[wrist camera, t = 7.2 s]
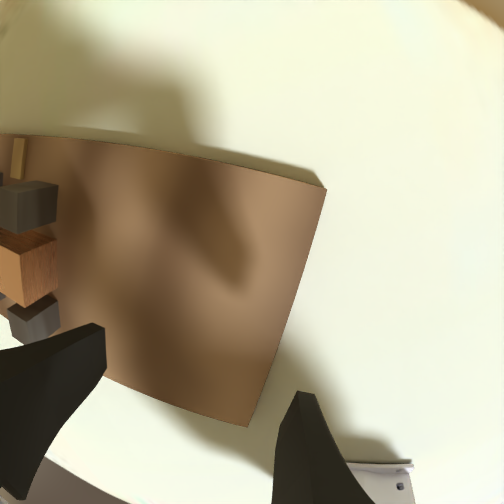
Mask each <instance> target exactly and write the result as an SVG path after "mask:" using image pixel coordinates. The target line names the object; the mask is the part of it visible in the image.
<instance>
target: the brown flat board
mask: <svg viewBox="0 0 504 504" xmlns="http://www.w3.org/2000/svg"><path fill="white" fill-rule="evenodd" d="M326 192H327V189H325V188H322V187H319V186H315V185H312V184H308V183H305V182H301V181H297V180H294V179H290V178H286V177H282V176H278V175H275V174H271V173H267V172H263V171H258V170H254V169H250V168H246V167H241V166H237V165H233V164H228V163H223V162H219V161H214V160H209V159H204V158H199V157H194V156H189V155H184V154H178V153H173V152H167V151H162V150H156V149H150V148H143V147H137V146H130V145H123V144H116V143H108V142H100V141H92V140H83V139H73V138H62V137H50V136H36V135H18V134H0V227H2V228H4V229H6V230H8V231H10V232H13V233H15V234H17V235H18V234H20V233H23V232H26V231H29V230H33V231H36V232H38V233H41V234H44V235H46V236H49V237H51V238H54V239H57V273H58V288H56V289H55V290H53V291H51V292H50V293H48V294H47V295H45V296H43V297H42V298H40V299H39V300H37V301H35V302H34V303H32V304H31V305H29V306H27V307H26V308H24V307H23V306H21V305H19V304H18V303H16V302H15V301H13V300H12V299H10V298H9V297H7V296H6V295H4V294H3V293H1V292H0V314H1V315H3V316H4V317H5V318H7V319H8V320H9V323H10V328H11V332H12V336H13V337H14V338H16V339H17V340H18V341H20V342H21V343H23V344H24V345H26V344H29V343H33V342H36V341H40V340H43V339H46V338H49V337H52V336H55V335H57V334H60V333H63V332H66V331H69V330H71V329H74V328H77V327H80V326H83V325H86V324H89V323H92V322H93V323H95V324H97V325H99V326H102V327H104V328H105V337H106V356H107V369H106V371H105V372H104V374H103V376H105V377H107V378H109V379H111V380H113V381H115V382H118V383H120V384H122V385H124V386H127V387H129V388H131V389H133V390H136V391H138V392H141V393H143V394H145V395H148V396H150V397H153V398H155V399H158V400H161V401H163V402H166V403H169V404H171V405H174V406H177V407H180V408H183V409H186V410H188V411H191V412H195V413H198V414H201V415H204V416H207V417H210V418H214V419H217V420H221V421H224V422H228V423H231V424H235V425H239V426H243V427H248V425H249V422H250V420H251V417H252V415H253V412H254V410H255V407H256V405H257V402H258V399H259V397H260V394H261V392H262V389H263V386H264V384H265V381H266V378H267V376H268V373H269V370H270V368H271V365H272V362H273V359H274V357H275V354H276V351H277V348H278V346H279V343H280V340H281V337H282V334H283V331H284V328H285V325H286V323H287V320H288V317H289V314H290V311H291V308H292V305H293V302H294V299H295V296H296V293H297V290H298V286H299V283H300V280H301V277H302V274H303V271H304V268H305V264H306V261H307V258H308V255H309V251H310V248H311V245H312V241H313V238H314V235H315V231H316V228H317V224H318V221H319V217H320V214H321V210H322V207H323V203H324V200H325V196H326Z"/></svg>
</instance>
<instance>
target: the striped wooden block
mask: <svg viewBox="0 0 504 504" xmlns="http://www.w3.org/2000/svg"><path fill="white" fill-rule="evenodd" d="M56 288H58V273H57V239H54V238H51V237H49V236H46V235H44V234H41V233H38V232H36V231H33V230H29V231H26V232H23V233H20V234H18V235H17V234H15V233H13V232H10V231H8V230H6V229H4V228H2V227H0V292H1V293H3V294H4V295H6V296H7V297H9V298H10V299H12V300H13V301H15V302H16V303H18V304H19V305H21V306H23V307H24V308H26V307H27V306H29V305H31V304H32V303H34V302H35V301H37V300H39V299H40V298H42V297H43V296H45V295H47V294H48V293H50V292H51V291H53V290H55V289H56Z"/></svg>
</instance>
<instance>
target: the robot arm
mask: <svg viewBox="0 0 504 504" xmlns="http://www.w3.org/2000/svg"><path fill="white" fill-rule="evenodd" d="M106 369H107V356H106V337H105V328H104V327H102V326H99V325H97V324H95V323H93V322H92V323H89V324H86V325H83V326H80V327H77V328H74V329H71V330H69V331H66V332H63V333H60V334H57V335H55V336H52V337H49V338H46V339H43V340H40V341H36V342H33V343H29V344H26V345H23V346H19V347H14V348H10V349H4V350H0V488H1V487H3V488H4V489H5V490H6V491H7V492H9V493H10V494H11V495H12V496H13V497H15V498H16V499H17V500H25V499H26V497H27V494H28V491H29V488H30V486H31V483H32V481H33V478H34V476H35V474H36V472H37V469H38V467H39V465H40V463H41V461H42V459H43V457H44V455H45V454H46V452H47V450H48V448H49V446H50V445H51V443H52V441H53V440H54V438H55V437H56V435H57V433H58V432H59V430H60V429H61V428H62V426H63V425H64V424H65V422H66V421H67V420H68V419H69V417H70V416H71V415H72V414H73V413H74V412H75V410H76V409H77V408H78V407H79V406H80V405H81V403H82V402H83V401H84V400H85V399H86V398H87V396H88V395H89V394H90V393H91V392H92V390H93V389H94V388H95V387H96V385H97V384H98V382H99V381H100V379H101V377H102V376H103V374H104V372H105V371H106ZM413 469H414V465H413V464H360V463H346V462H345V460H344V458H343V457H342V455H341V453H340V451H339V449H338V447H337V445H336V443H335V441H334V439H333V437H332V435H331V433H330V431H329V428H328V426H327V424H326V421H325V419H324V417H323V414H322V412H321V409H320V407H319V404H318V401H317V399H316V397H315V395H314V394H311V393H306V392H301V391H297V392H296V394H295V396H294V399H293V401H292V403H291V405H290V407H289V409H288V411H287V413H286V415H285V417H284V419H283V421H282V423H281V425H280V428H279V433H278V438H277V444H276V449H275V462H274V477H273V492H272V503H271V504H416V503H415V499H414V494H413V489H412V484H411V480H410V476H409V473H410V472H411V471H412V470H413ZM0 504H9V503H8V502H7V501H6V500H5V499H3V498H2V497H1V496H0Z"/></svg>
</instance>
